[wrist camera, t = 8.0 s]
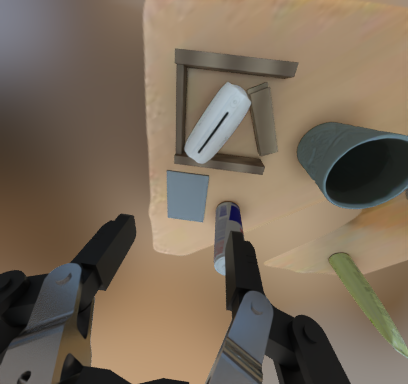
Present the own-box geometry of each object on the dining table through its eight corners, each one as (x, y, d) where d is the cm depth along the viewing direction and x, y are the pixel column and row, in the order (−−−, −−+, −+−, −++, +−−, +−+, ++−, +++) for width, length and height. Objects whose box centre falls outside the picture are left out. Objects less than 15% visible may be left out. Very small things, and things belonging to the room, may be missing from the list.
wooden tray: (287, 66, 24) (298, 62, 21) (258, 166, 33) (262, 174, 29) (181, 54, 25) (175, 48, 21) (179, 155, 33) (174, 163, 30)
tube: (323, 263, 46) (379, 360, 30) (329, 251, 44) (395, 350, 27) (344, 264, 46) (415, 363, 29) (352, 252, 43) (434, 353, 26)
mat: (209, 175, 35) (208, 176, 35) (203, 221, 42) (202, 222, 42) (167, 170, 35) (166, 170, 35) (168, 216, 42) (167, 217, 42)
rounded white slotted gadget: (225, 79, 26) (229, 72, 15) (246, 97, 27) (262, 102, 16) (190, 133, 31) (174, 156, 20) (209, 147, 32) (203, 175, 21)
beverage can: (217, 220, 41) (216, 278, 29) (214, 202, 38) (210, 257, 26) (240, 218, 40) (249, 277, 28) (238, 199, 37) (247, 255, 25)
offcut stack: (265, 82, 26) (269, 81, 23) (274, 148, 31) (278, 153, 29) (246, 90, 27) (248, 90, 24) (258, 153, 32) (261, 158, 29)
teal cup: (361, 149, 30) (435, 180, 19) (306, 182, 34) (343, 221, 24) (337, 103, 26) (411, 111, 16) (280, 146, 30) (309, 173, 20)
